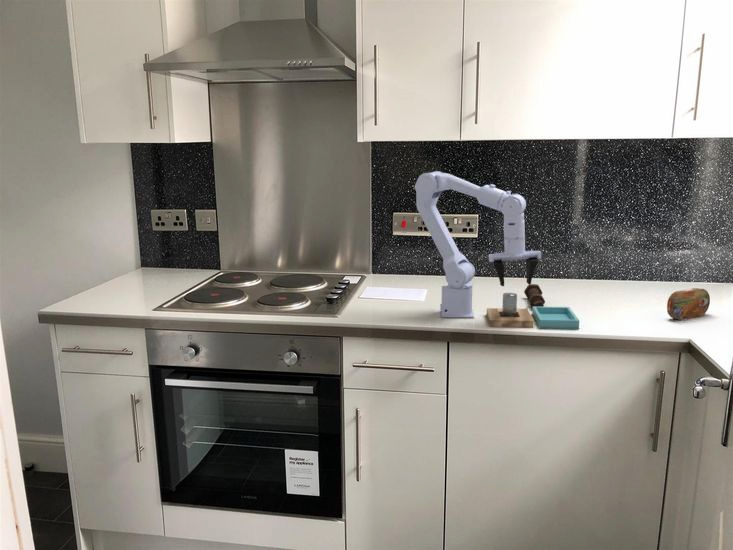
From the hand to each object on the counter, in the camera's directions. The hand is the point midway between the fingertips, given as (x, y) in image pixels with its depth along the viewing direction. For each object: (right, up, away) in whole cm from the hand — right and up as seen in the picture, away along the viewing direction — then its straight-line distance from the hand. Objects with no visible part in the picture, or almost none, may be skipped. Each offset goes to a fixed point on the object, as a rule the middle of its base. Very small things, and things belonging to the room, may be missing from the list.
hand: (515, 284), depth 179 cm
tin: (+51, -10, +4) cm, 52 cm away
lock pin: (-1, -11, +3) cm, 11 cm away
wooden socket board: (-1, -11, +3) cm, 11 cm away
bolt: (+11, -7, +19) cm, 23 cm away
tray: (+12, -11, +1) cm, 16 cm away
